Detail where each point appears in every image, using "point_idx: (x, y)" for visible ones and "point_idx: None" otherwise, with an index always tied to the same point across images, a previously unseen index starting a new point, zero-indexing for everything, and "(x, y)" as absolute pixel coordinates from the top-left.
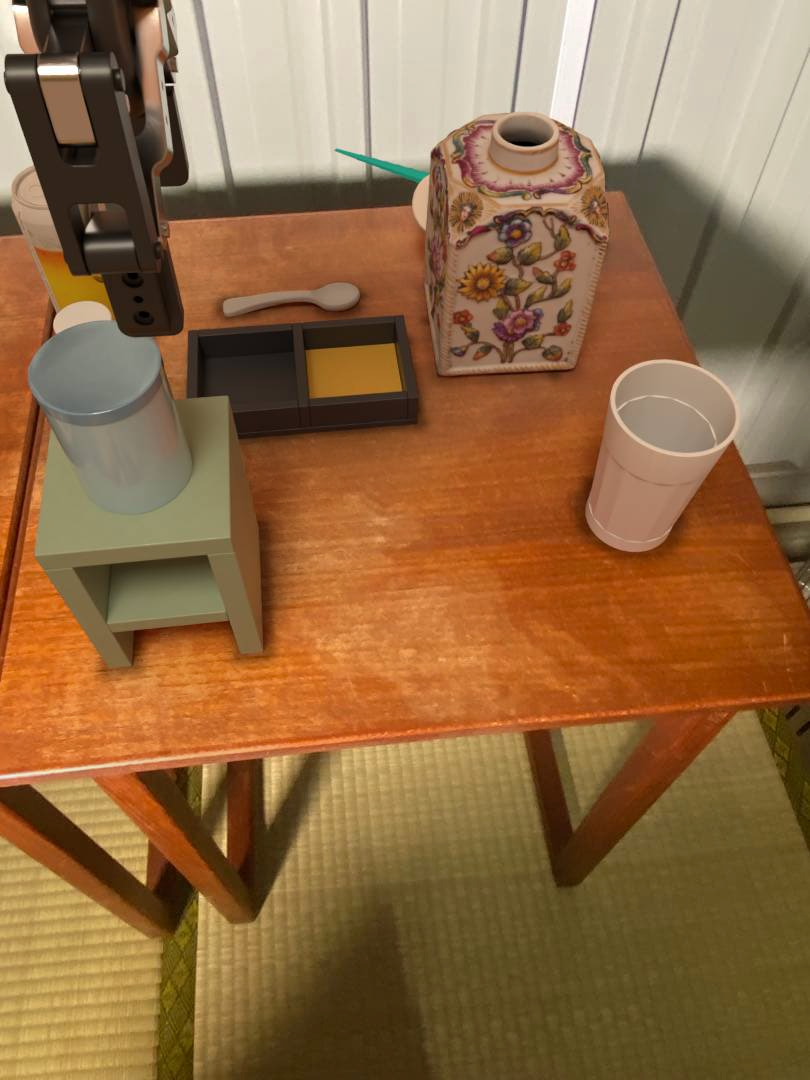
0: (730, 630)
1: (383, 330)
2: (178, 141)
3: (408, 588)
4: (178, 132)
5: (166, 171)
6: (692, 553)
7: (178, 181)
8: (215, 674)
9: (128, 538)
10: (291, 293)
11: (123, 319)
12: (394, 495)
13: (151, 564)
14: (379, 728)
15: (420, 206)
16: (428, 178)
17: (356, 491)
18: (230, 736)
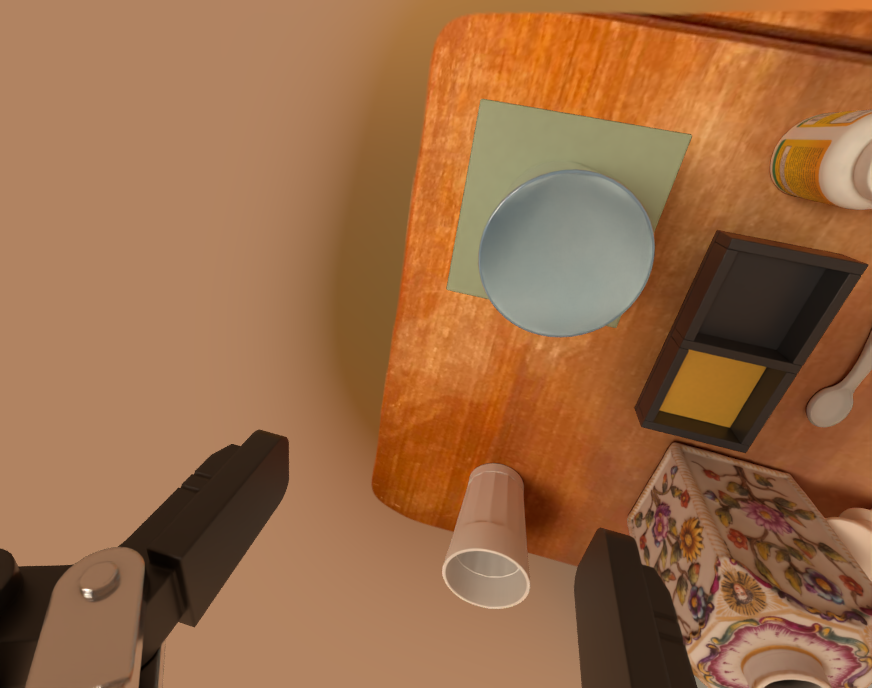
0: (408, 488)
1: (742, 429)
2: (581, 653)
3: (492, 349)
4: (582, 674)
5: (587, 580)
6: (459, 498)
7: (579, 572)
8: None
9: (471, 201)
10: (863, 372)
11: (201, 466)
12: (573, 368)
13: None
14: (400, 298)
15: (861, 534)
16: None
17: (590, 345)
18: (419, 202)
